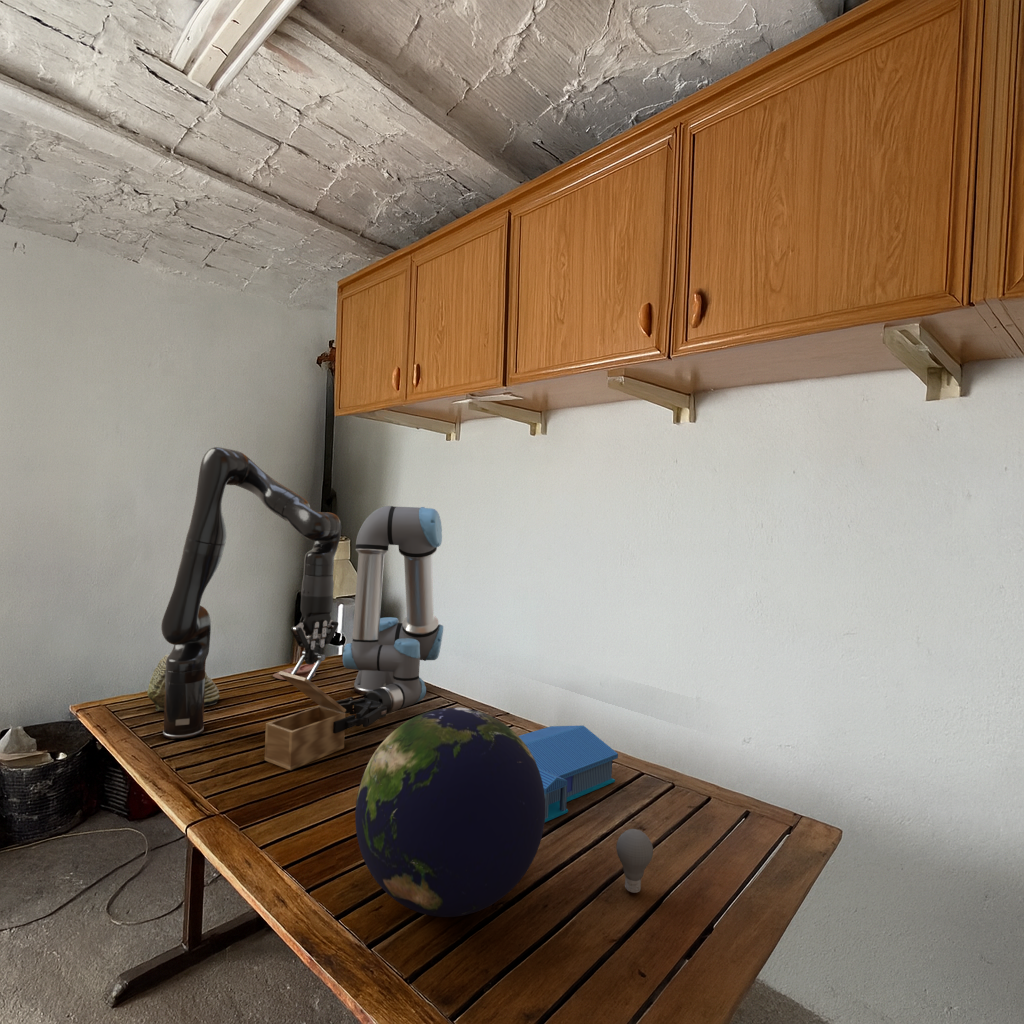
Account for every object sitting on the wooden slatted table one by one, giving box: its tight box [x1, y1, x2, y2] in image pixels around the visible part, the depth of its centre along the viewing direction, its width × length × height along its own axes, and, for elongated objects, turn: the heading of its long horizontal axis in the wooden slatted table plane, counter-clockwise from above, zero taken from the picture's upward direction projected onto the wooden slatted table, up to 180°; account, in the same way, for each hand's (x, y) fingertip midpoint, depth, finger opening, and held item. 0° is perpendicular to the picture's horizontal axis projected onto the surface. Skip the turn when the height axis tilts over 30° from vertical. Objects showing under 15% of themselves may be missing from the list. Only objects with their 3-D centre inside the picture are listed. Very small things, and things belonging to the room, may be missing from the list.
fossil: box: [147, 654, 221, 712], centre depth 185 cm, size 9×18×15 cm, turn 132°
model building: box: [518, 725, 619, 823], centre depth 140 cm, size 39×24×10 cm, turn 132°
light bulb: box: [615, 828, 654, 894], centre depth 106 cm, size 6×6×10 cm
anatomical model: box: [272, 663, 316, 681], centre depth 220 cm, size 13×4×12 cm
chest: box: [264, 705, 346, 771], centre depth 155 cm, size 16×9×9 cm, turn 148°
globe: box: [354, 707, 546, 918], centre depth 101 cm, size 30×30×30 cm
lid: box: [277, 649, 346, 714], centre depth 158 cm, size 17×9×8 cm
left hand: (313, 663), depth 156 cm, fingers closed
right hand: (320, 723), depth 159 cm, fingers closed on chest, 9 cm apart
